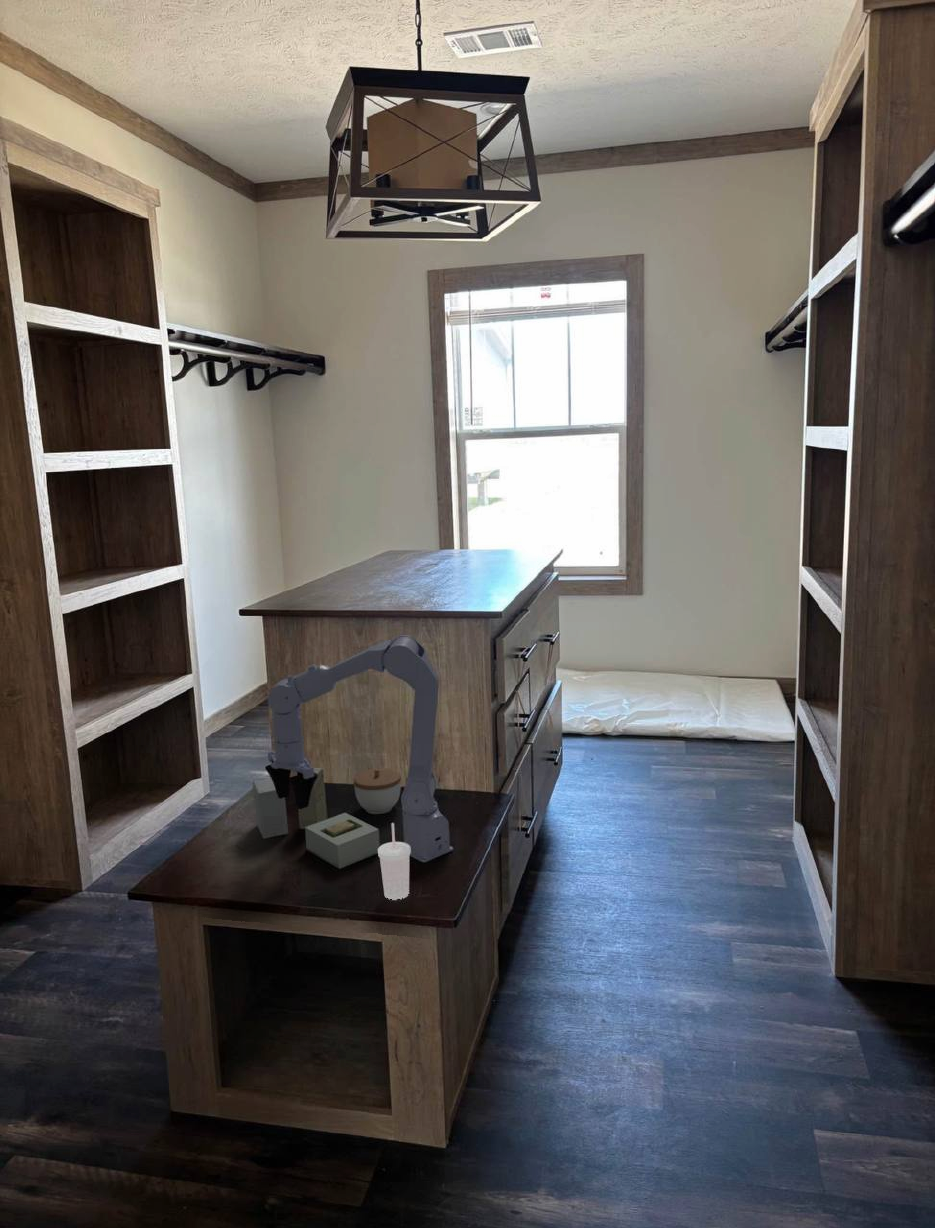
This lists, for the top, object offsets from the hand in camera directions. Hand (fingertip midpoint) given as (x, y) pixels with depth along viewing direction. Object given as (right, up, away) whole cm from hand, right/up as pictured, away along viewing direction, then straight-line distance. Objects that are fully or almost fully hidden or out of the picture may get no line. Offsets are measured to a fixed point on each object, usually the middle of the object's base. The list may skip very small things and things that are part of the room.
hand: (293, 802), depth 184 cm
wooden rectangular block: (+10, -10, +1) cm, 14 cm away
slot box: (+10, -10, +1) cm, 14 cm away
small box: (-7, -9, +12) cm, 17 cm away
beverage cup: (+23, -14, -17) cm, 31 cm away
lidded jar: (+15, -6, +21) cm, 27 cm away
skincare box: (+2, -8, +15) cm, 17 cm away
